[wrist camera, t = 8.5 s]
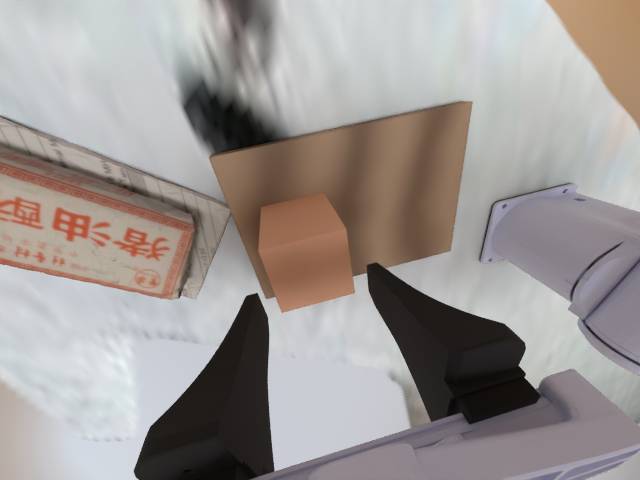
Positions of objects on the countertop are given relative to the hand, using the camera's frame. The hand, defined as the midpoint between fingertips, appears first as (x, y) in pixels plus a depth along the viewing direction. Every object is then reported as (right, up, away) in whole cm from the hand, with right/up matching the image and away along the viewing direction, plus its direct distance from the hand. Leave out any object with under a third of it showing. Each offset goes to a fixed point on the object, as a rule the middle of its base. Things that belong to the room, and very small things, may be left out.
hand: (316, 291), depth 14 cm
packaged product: (-17, +5, +5) cm, 19 cm away
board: (+3, +6, +8) cm, 11 cm away
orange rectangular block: (-2, +4, +7) cm, 8 cm away
